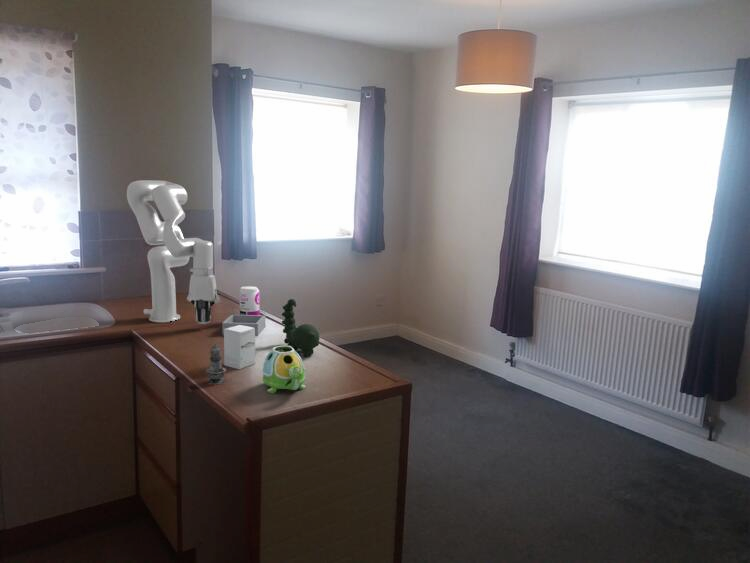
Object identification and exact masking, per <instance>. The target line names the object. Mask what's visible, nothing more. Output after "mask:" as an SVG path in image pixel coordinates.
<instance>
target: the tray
mask: <svg viewBox="0 0 750 563" xmlns="http://www.w3.org/2000/svg"><path fill="white" fill-rule="evenodd" d="M266 324H267V323H266V315H261V314H259V315H240V314H231V315H229V316H228V317H227V318H226V319H225V320H223V322H222V323H221V327H222V328H221V330H222V335H223V336H224V329H226V328H230V327H234V326H237V325H243V326H248V327H253V328H255V337H258V336H260V334H261V333H262V332H263V330H264V329H265V328H266V327H267V326H266Z"/></svg>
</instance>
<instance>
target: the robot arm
mask: <svg viewBox="0 0 750 563" xmlns="http://www.w3.org/2000/svg"><path fill="white" fill-rule="evenodd" d="M126 199H127V202H128V204H129V207H130V209H131V210H132V212H133V214H134V216H135V217H136V220H137V223H138V226H139V228H140V232H141V235H142V236H143V239H144V240H145V243H146V244H147V245H151V246H154V247H151V249H150V250H148V252H147V262H148V266H149V271H150V282H151V283H150V284H151V302H152V303H151V304H152V306H151V307H152V308H151V309H148V308H144V309H143V314H144V315H147V316H148V315H149V317H148V320H149V321H150V322H151V323H152V322H153V323H171V322H170V321H172V322H176V321H175V320H177V321H178V319H179V320H180V319H181V315H180V314H178V313H177V300H176V299H177V296H176V293H177V292H176V279H175V275H174V274H173V271H172V270H171V268H176V267H183V266H186V265H187V264H188V263H189V261H190V258H192V260H193V266H192V267H190V268H189V272H192V274H191V275H190V278H189V279H190V280H189V288H188V295H187V297H186V301H188V302H190V303H191V304H192V305H193V306H194V309H195V310H194V311H195V315H196V300H200V299H202V300H204V301H208V306H209V314H210V315H212V307H213V306H214V305H215V304H218V303H219V302H220V301H221V299H220V297H219V296H218V292H217V281H216V276H215V274H214V244H213V242H212V241H210V240H204V239H201V238H199V237H190V238H189V237H188V238H184V235H183V232H182V230H181V227H180V226H179V224H181V223H182V222H183V221H184V219H185V218H186V213H185V211H184V210H183V207H182V206H183V205H185V204H186V203H187V202H188V192H187V191H186V188H184V186H182V185H180V184H177V183H173V182H170V181H167V180H153V179H152V180H151V179H150V180H142V179H141V180H136V181H135V180H134V181H133V182H131V183H129V185H128V186H127V189H126ZM149 201H154V203H155V205H156V207H157V209H158V211H159V213H160V215H161V217H162V218H163V220H164V221H162V220H161V219H160V218H159V215H158V212H157V210H156V209H155V208H154V206H152V205H151V204H150V203H149ZM157 245H158V246H157ZM210 301H211V303H210ZM210 309H211V310H210ZM210 312H211V313H210Z"/></svg>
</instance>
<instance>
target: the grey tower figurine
mask: <svg viewBox="0 0 750 563" xmlns="http://www.w3.org/2000/svg"><path fill="white" fill-rule="evenodd" d="M222 359H223V357H222V356H221V347H220V346H217V344H216V343H214V346H212V347H211V348H210V357H209V360H210V366H209V368H207V369H206V370H205V372H206V374H207V377H208V378H209V379H208V380H207V381H206V382H207V384H209V385H221V384H224V383H225V382H226V380H225V379H224V378H223V377H224V376H225V374H226V371H227V368H225V367H222Z"/></svg>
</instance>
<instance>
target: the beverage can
mask: <svg viewBox="0 0 750 563" xmlns="http://www.w3.org/2000/svg"><path fill="white" fill-rule="evenodd" d="M210 303H211V301H210ZM210 310H211V312H210V313H211V315H212V308H211V309H210ZM211 315H210V314H209V306H208V301H204V300H202V299H200V300H196V314H195V322H196V323H198V324H199V325H206V324H209V323H210V322H211V321H212V319H211V317H212V316H211Z"/></svg>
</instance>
